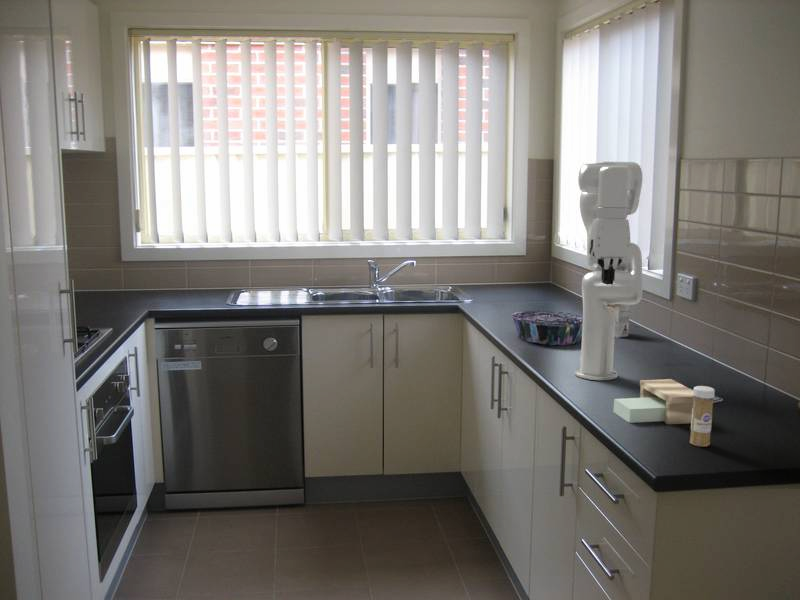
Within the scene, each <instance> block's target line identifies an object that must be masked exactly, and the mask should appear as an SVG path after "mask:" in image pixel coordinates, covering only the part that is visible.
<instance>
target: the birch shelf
mask: <svg viewBox="0 0 800 600" xmlns="http://www.w3.org/2000/svg"><path fill="white" fill-rule="evenodd" d="M639 387H640V389H639V390H640V391H639V392H640V393H639V398H646V397H660V398H662V399H664V400H665V401H666V415H665V421H664V423H665V424H667V425H680V424H681V425H683V424H691V420H692V408H693V400H694V397H693V396H694V395H693V390H694V389H693V390H691V389H692V388H690V389H689V387H687V386H685V385H683V384H682V383H681V382H678V381H676V380H675V379H672V378H667V379H666V378H665V379H644V380H643V379H640V381H639Z"/></svg>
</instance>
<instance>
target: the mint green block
mask: <svg viewBox="0 0 800 600" xmlns="http://www.w3.org/2000/svg"><path fill="white" fill-rule="evenodd" d="M613 413H614V414H615V415H617V416H619V417H620V418H621V419H623V420H625V421H626V422H628V423H630V424H631V423H633V424H634V423H649V422H650V423H652V422H665V415H666V401H665V400H664V399H662V398H660V397H646V398H640V397H628V398H614V399H613Z"/></svg>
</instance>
